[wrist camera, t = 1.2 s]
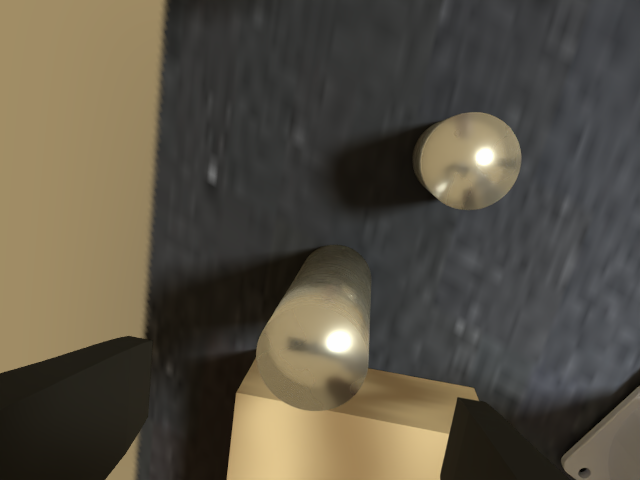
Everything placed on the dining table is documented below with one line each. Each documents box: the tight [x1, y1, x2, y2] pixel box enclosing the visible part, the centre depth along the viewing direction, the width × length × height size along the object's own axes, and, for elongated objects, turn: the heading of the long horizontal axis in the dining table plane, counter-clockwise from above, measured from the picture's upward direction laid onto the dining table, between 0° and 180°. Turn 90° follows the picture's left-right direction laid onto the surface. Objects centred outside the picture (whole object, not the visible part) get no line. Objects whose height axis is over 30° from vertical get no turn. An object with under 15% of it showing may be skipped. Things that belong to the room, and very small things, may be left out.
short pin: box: [412, 112, 521, 210], centre depth 17 cm, size 3×3×4 cm
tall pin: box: [256, 245, 371, 411], centre depth 17 cm, size 3×3×8 cm
